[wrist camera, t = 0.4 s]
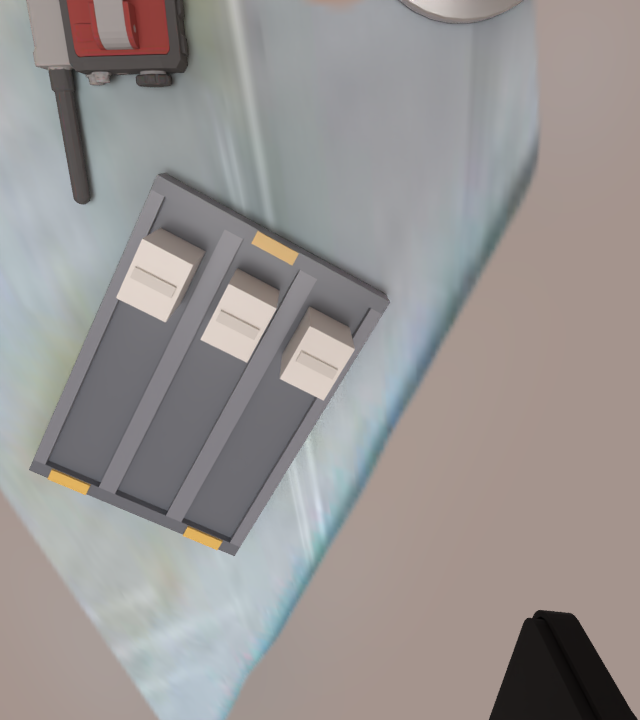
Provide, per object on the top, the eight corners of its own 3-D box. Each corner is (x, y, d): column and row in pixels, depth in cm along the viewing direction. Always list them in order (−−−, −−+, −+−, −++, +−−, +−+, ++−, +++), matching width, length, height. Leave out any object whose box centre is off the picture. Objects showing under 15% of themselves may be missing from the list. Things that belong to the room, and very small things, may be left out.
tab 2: (237, 268, 38) (228, 284, 34) (279, 290, 39) (276, 310, 34) (211, 318, 39) (199, 341, 35) (253, 339, 40) (246, 364, 35)
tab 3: (309, 306, 39) (309, 327, 35) (349, 327, 40) (355, 351, 35) (282, 354, 40) (279, 380, 36) (321, 374, 41) (323, 402, 36)
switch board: (164, 172, 37) (156, 174, 35) (385, 294, 41) (390, 302, 38) (41, 455, 44) (27, 471, 42) (237, 539, 48) (234, 557, 46)
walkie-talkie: (6, -176, 31) (74, 202, 38) (-39, -224, 27) (46, 209, 34) (168, -180, 31) (205, 198, 38) (147, -229, 27) (193, 205, 34)
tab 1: (160, 227, 37) (140, 239, 32) (205, 251, 38) (192, 266, 33) (136, 280, 38) (114, 299, 34) (180, 303, 39) (164, 323, 34)
